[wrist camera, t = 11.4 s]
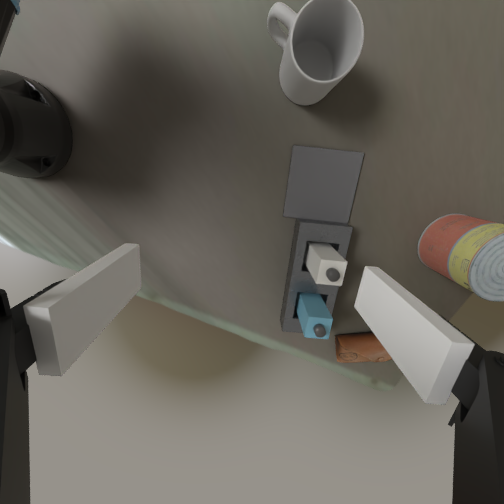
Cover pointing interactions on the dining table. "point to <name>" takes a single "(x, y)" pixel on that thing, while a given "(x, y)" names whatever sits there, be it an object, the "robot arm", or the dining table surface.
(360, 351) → the sunglasses case
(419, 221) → the dining table surface
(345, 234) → the strip
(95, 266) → the robot arm
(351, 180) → the mat
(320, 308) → the plug
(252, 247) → the dining table surface
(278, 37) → the mug
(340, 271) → the white knobbed block
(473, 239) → the canned food
